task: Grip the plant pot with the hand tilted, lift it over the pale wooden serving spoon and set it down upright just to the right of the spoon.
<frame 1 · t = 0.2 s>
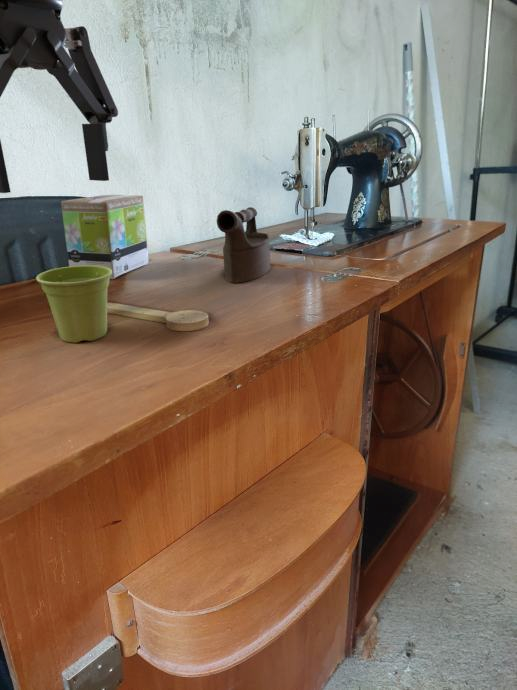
hand: (53, 186, 59), 20 cm above the table, tool pointing down, fingers open, 13 cm apart
tea box: (112, 271, 107), on the table
plant pot: (84, 337, 70), on the table
clothes iron: (241, 277, 100), on the table
spoon: (155, 318, 77), on the table
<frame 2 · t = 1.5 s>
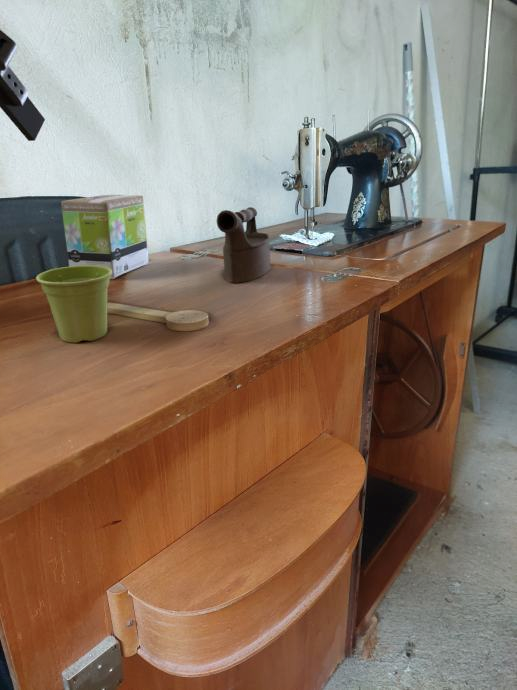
nothing on the table moved.
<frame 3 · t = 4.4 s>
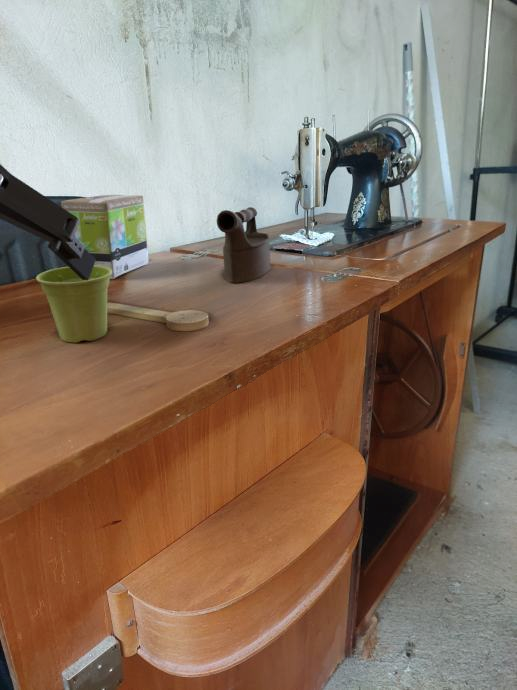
hand: (41, 267, 61), 11 cm above the table, tool tilted 45°, fingers open, 13 cm apart
nothing on the table moved.
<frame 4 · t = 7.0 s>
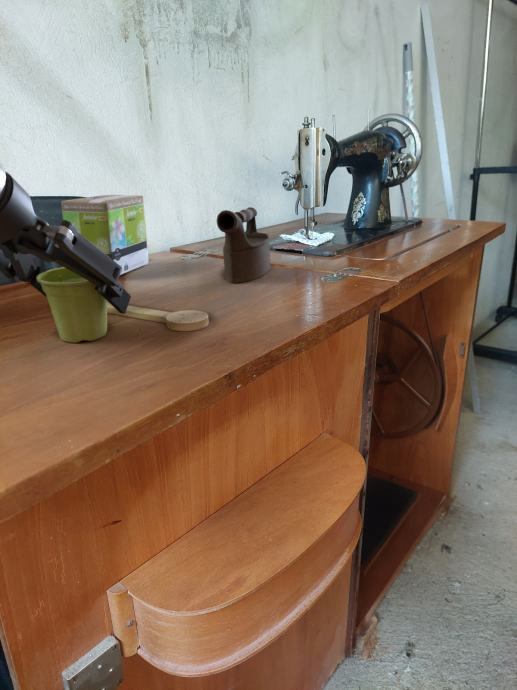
hand: (94, 302, 72), 4 cm above the table, tool tilted 45°, fingers closed on plant pot, 9 cm apart
plant pot: (84, 337, 70), on the table, touching gripper
everything else where it was.
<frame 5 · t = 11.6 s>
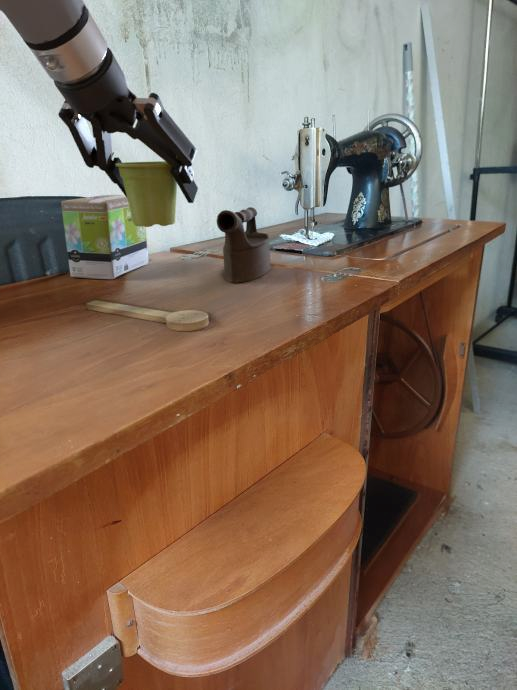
hand: (163, 195, 78), 17 cm above the table, tool tilted 45°, fingers closed on plant pot, 9 cm apart
plant pot: (155, 225, 77), point 13 cm above the table, touching gripper
everything else where it was.
when the fingers open (4 cm above the table, at t = 16.3 s): plant pot stays where it is, on the table.
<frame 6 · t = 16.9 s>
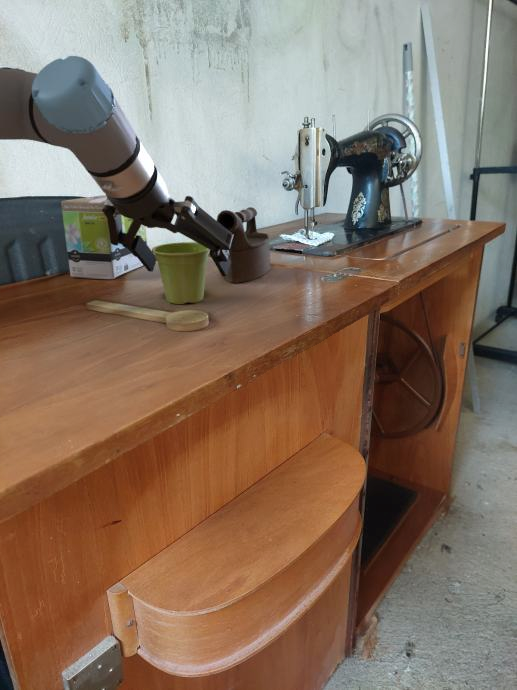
hand: (188, 267, 86), 5 cm above the table, tool tilted 45°, fingers open, 13 cm apart
plant pot: (185, 300, 86), on the table
everything else where it was.
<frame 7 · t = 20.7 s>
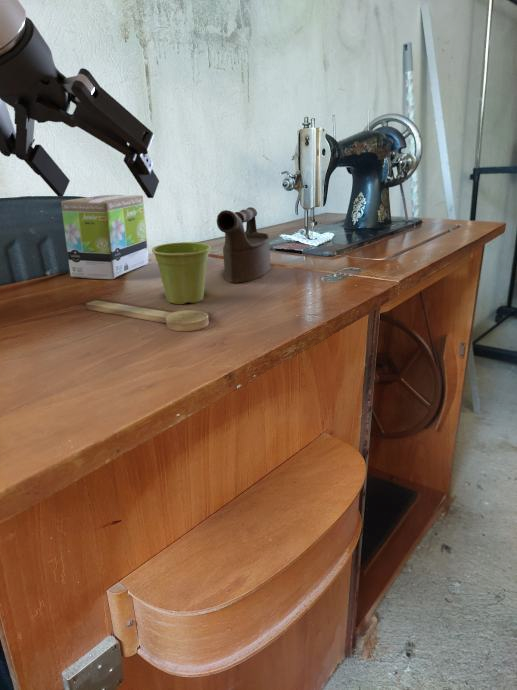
hand: (107, 189, 67), 19 cm above the table, tool tilted 45°, fingers open, 13 cm apart
nothing on the table moved.
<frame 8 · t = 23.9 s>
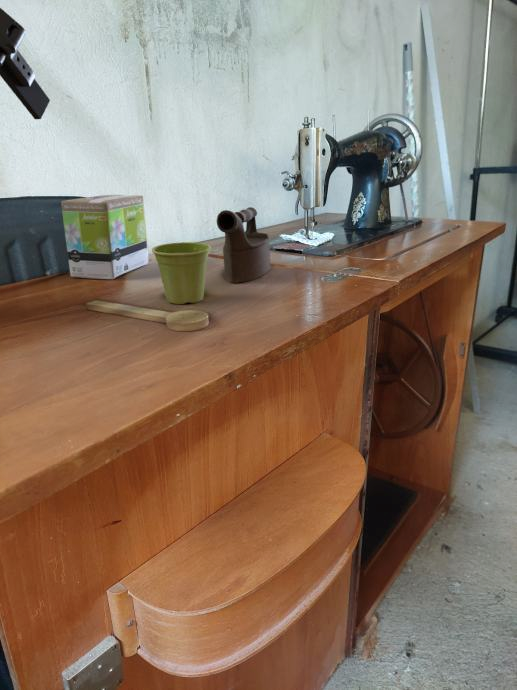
nothing on the table moved.
at the end: plant pot inside the target area on the table beside the spoon (2.0 cm from its centre), on the table; plant pot tilted 0°; spoon moved 0.0 cm from its start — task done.
